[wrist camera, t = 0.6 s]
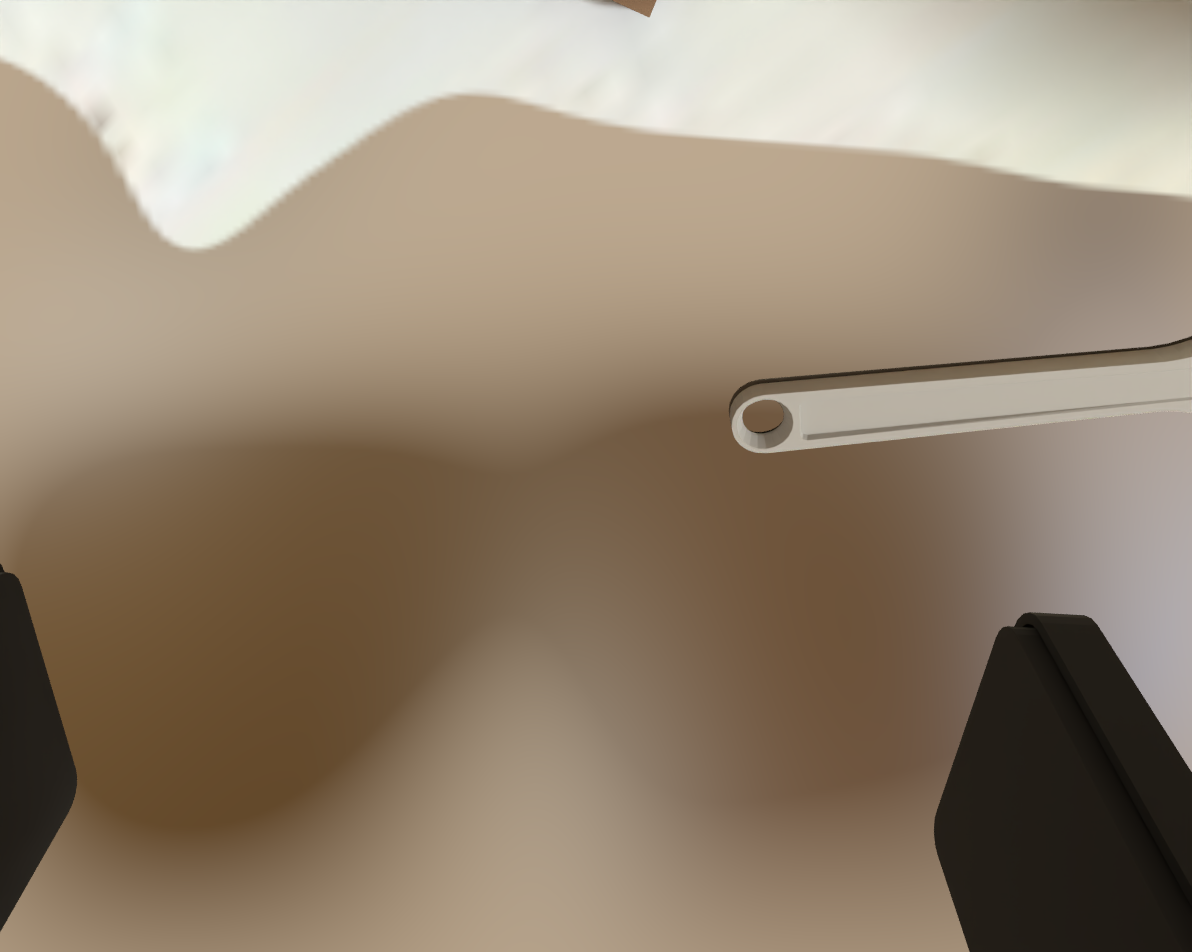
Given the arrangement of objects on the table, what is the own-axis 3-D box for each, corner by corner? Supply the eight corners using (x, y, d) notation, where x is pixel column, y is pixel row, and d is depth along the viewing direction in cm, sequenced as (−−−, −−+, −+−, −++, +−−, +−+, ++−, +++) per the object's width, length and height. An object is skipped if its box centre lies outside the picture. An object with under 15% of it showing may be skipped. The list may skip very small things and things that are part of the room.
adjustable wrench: (727, 439, 42) (731, 461, 40) (731, 291, 38) (735, 309, 37) (1352, 423, 41) (1380, 444, 39) (1412, 269, 37) (1445, 287, 36)
